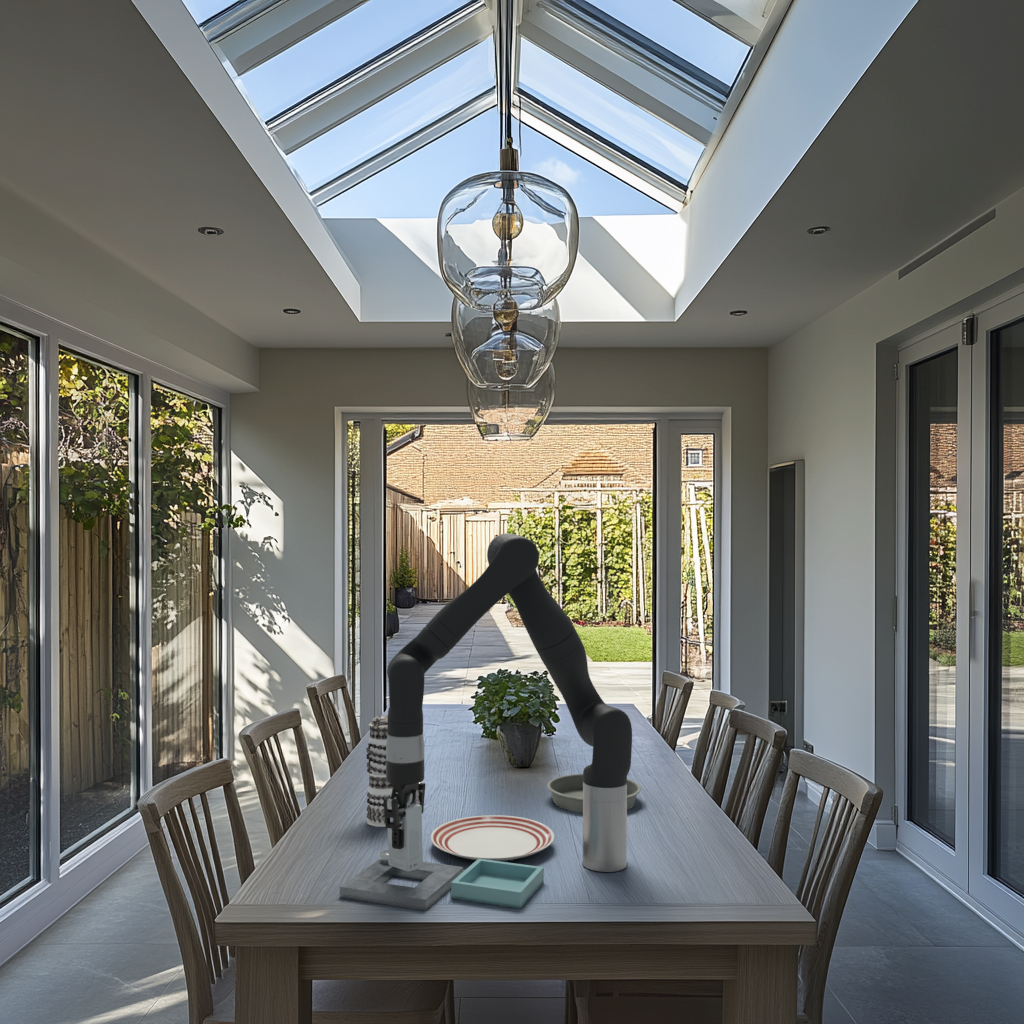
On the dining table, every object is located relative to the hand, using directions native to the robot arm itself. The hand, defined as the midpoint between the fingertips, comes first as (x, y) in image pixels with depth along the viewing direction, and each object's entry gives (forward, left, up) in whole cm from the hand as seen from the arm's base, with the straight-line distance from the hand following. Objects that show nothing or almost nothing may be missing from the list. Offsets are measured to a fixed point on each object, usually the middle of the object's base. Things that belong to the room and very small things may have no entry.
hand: (405, 842), depth 179 cm
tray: (-5, +18, -8) cm, 20 cm away
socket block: (0, 0, -8) cm, 8 cm away
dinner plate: (-28, +8, -9) cm, 30 cm away
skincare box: (0, 0, -5) cm, 5 cm away
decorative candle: (-36, -23, -9) cm, 43 cm away
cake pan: (-71, +20, -9) cm, 74 cm away
